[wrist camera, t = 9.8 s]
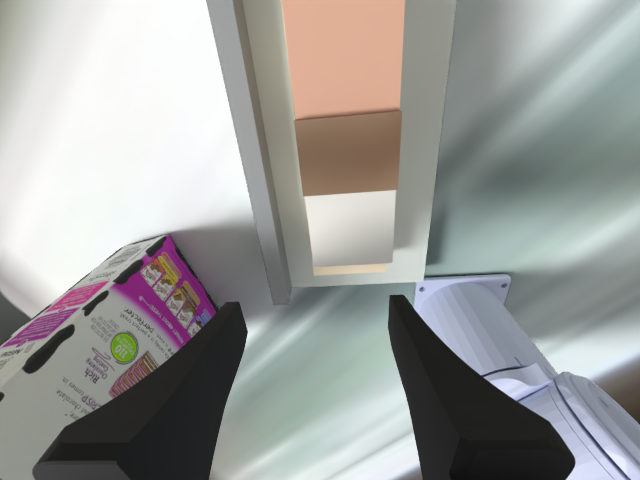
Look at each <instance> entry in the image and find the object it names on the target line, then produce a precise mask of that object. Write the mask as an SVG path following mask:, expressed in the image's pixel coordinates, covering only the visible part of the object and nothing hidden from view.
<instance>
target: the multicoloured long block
mask: <svg viewBox="0 0 640 480" xmlns="http://www.w3.org/2000/svg"><path fill="white" fill-rule="evenodd" d="M281 5H282V0H281ZM282 14H283V8H282ZM283 22H284V16H283ZM284 30H285V24H284ZM285 39H286V33H285ZM286 47H287V41H286ZM287 56H288V50H287ZM288 64H289V58H288ZM289 72H290V67H289ZM290 81H291V75H290ZM291 89H292V84H291ZM292 97H293V92H292ZM293 106H294V101H293ZM294 114H295V109H294ZM401 125H402V111H400V110H395V111H384V112H373V113H362V114H351V115H340V116H328V117H317V118H306V119H296V117H295V120H294V126H295V134H296V142H297V151H298V159H299V167H300V175H301V183H302V192H303V197H304V198H305V196H319V195H333V194H347V193H361V192H375V191H390V190H398V181H399V162H400V143H401ZM305 206H306V200H305ZM306 214H307V209H306ZM307 223H308V217H307ZM308 231H309V225H308ZM309 239H310V234H309ZM310 248H311V242H310ZM311 256H312V250H311ZM312 264H313V259H312ZM375 272H386V263H384V264H365V265H347V266H328V267H313V273H314V276H316V275H336V274H356V273H375Z"/></svg>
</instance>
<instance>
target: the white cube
mask: <svg viewBox="0 0 640 480" xmlns="http://www.w3.org/2000/svg"><path fill="white" fill-rule="evenodd" d="M395 199H396V190H390V191H375V192H361V193H347V194H333V195H319V196H305V200H306V209H307V217H308V225H309V234H310V242H311V250H312V259H313V267H328V266H347V265H365V264H384V263H392V261H393V240H394V219H395Z"/></svg>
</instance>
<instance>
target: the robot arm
mask: <svg viewBox="0 0 640 480" xmlns="http://www.w3.org/2000/svg"><path fill="white" fill-rule="evenodd" d="M510 283H511V277H510V276H509V275H507V274H496V275H475V276H454V277H434V278H424V280H423V282H416V287H415V297H414V306H413V307H412V305H411V304H410V303H409V301H408V300H407V298H406V297H405V296H404V295H390V300H389V319H388V329H389V335H390V341H391V346H392V350H393V354H394V357H395V360H396V364H397V367H398V370H399V374H400V377H401V380H402V384H403V387H404V390H405V394H406V397H407V401H408V405H409V410H410V415H411V419H412V424H413V429H414V434H415V440H416V445H417V450H418V455H419V461H420V466H421V472H422V477H423V480H640V425H639V424H638V423H637V422H636V421H635V420H634V419H633V418H632V417H631V416H630V415H629V414H628V413H627V412H626V411H625V410H624V409H623V408H622V407H621V406H620V405H619V404H618V403H617V402H616V401H614V400H613V399H612V398H611V397H610V396H609V395H608V394H607V393H606V392H604V391H603V390H602V389H601V388H600V387H598V386H597V385H596V384H594V383H593V382H592V381H590V380H589V379H587V378H585V377H582V376H578V375H574V374H572V373H570V372H562V373H561V374H559V375H558V373H557V372H556V371H555V369H554V368H553V367H552V366H551V364H550V363H549V362H548V361H547V359H546V358H545V357H544V356H543V354H542V353H541V352H540V350H539V349H538V348H537V347H536V345H535V344H534V343H533V342H532V340H531V339H530V338H529V336H528V335H527V334H526V333H525V331H524V330H523V329H522V328H521V326H520V325H519V324H518V323H517V321H516V320H515V319H514V317H513V316H512V315H511V314H510V312H509V311H508V310H507V309H506V307H505V306H504V302H505V299H506V296H507V293H508V290H509V286H510ZM502 284H503V285H502ZM421 287H424V288H422V289H420V288H421ZM247 333H248V331H247V328H246V324H245V321H244V318H243V314H242V311H241V307H240V304H239V302H226V303H225V304H224V305H223V306H222V307H221V308H220V309H219V310H218V312H217V313H216V314H215V315H214V316H213V317H212V318H211V319H210V320H209V321H208V322H207V323H206V324H205V325H204V326H203V327H202V328H201V329H200V330H199V331H198V332H197V333H196V334H195V335H194V336H193V337H192V338H191V339H190V340H189V341H188V342H187V343H186V344H185V345H183V346H182V347H181V348H180V349H179V350H178V351H177V352H176V353H175V354H174V355H172V356H171V357H170V358H169V359H168V360H166V361H165V362H164V363H163V364H162V365H160V366H159V367H158V368H157V369H155V370H154V371H153V372H151V373H150V374H149V375H147V376H146V377H144V378H143V379H142V380H140V381H139V382H137V383H136V384H135V385H133V386H132V387H130V388H129V389H127V390H126V391H124V392H123V393H121V394H120V395H118V396H117V397H115V398H114V399H112V400H110V401H109V402H107V403H106V404H104V405H102V406H101V407H99V408H97V409H96V410H94V411H92V412H90V413H89V414H87V415H85V416H83V417H81V418H80V419H78V420H76V421H74V422H73V423H71V424H69V425H67V426H65V427H64V428H63V430H62V431H61V432H60V433H59V435H58V436H57V437H56V438H55V440H54V441H53V442H52V444H51V445H50V446H49V447H48V449H47V450H46V451H45V453H44V454H43V455H42V456H41V458H40V459H39V460H38V462H37V463H36V464H35V466H34V467H33V470H32V475H33V477H34V479H35V480H209V475H210V470H211V465H212V460H213V455H214V451H215V446H216V442H217V437H218V433H219V429H220V424H221V420H222V416H223V412H224V408H225V405H226V402H227V398H228V396H229V393H230V390H231V387H232V384H233V381H234V378H235V376H236V373H237V370H238V367H239V364H240V361H241V358H242V355H243V352H244V348H245V343H246V338H247Z"/></svg>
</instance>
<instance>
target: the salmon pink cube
mask: <svg viewBox="0 0 640 480" xmlns="http://www.w3.org/2000/svg"><path fill="white" fill-rule="evenodd" d="M282 8H283V16H284V24H285V33H286V41H287V50H288V58H289V67H290V75H291V84H292V92H293V101H294V109H295V117H296V119H306V118H317V117H328V116H340V115H351V114H362V113H373V112H384V111H395V110H400V93H401V73H402V52H403V32H404V12H405V0H282Z"/></svg>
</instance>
